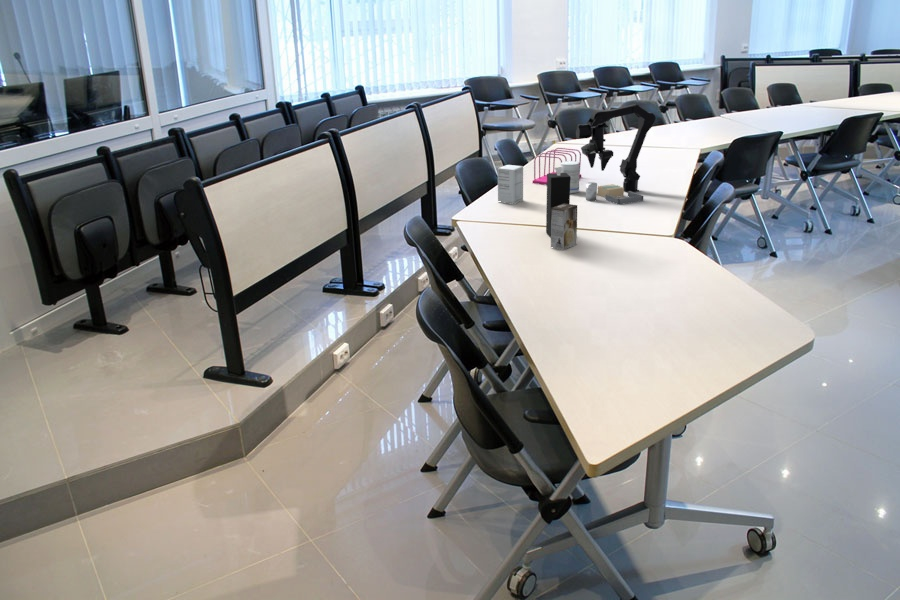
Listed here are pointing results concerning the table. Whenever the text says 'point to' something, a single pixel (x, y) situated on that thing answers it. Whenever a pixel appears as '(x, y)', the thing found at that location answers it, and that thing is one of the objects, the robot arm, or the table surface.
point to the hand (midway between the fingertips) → (597, 169)
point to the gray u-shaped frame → (632, 198)
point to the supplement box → (510, 184)
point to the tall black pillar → (556, 193)
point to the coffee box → (564, 226)
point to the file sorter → (544, 178)
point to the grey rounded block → (591, 191)
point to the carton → (610, 190)
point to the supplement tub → (572, 174)
